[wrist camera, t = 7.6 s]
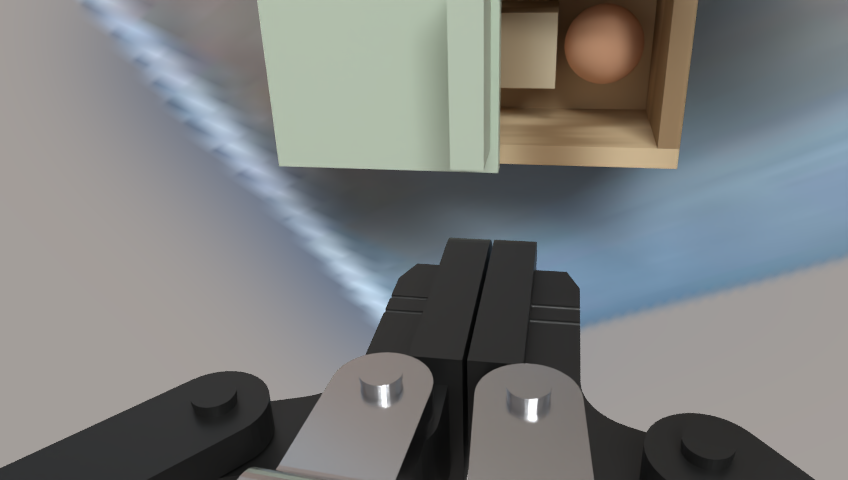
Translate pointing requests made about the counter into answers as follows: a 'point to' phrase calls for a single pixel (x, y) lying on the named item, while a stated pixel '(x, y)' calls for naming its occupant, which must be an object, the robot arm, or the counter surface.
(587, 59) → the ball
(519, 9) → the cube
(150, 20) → the counter surface
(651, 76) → the oak box
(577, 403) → the robot arm
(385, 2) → the lid
